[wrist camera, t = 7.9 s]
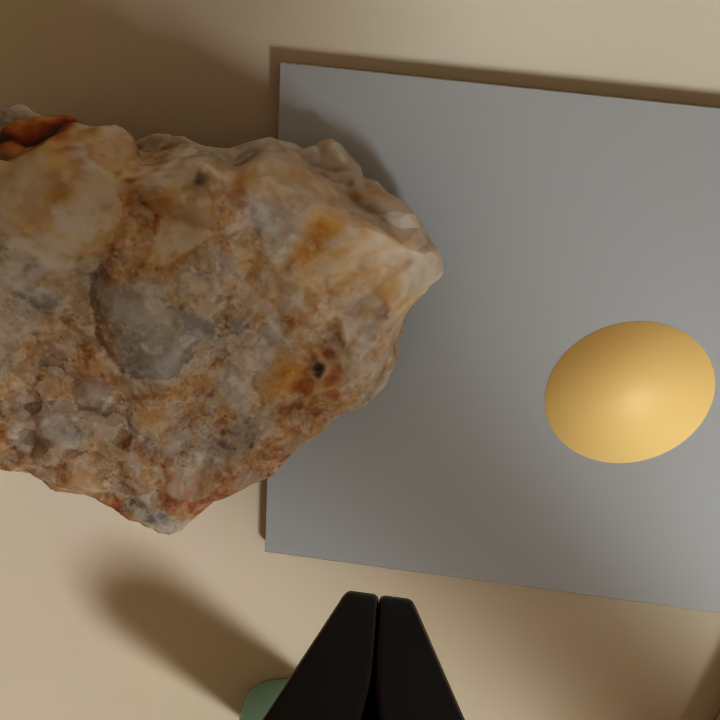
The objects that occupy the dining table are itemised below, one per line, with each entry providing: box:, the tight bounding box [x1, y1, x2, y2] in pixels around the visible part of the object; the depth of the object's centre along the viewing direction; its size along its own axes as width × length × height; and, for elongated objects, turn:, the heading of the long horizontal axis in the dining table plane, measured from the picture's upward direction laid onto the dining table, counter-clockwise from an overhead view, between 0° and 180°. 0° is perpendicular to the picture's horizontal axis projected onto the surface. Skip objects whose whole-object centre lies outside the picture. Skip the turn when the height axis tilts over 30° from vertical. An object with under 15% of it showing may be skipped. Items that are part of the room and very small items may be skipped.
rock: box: [0, 104, 443, 535], centre depth 12 cm, size 9×6×10 cm
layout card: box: [265, 62, 720, 613], centre depth 15 cm, size 16×12×1 cm
